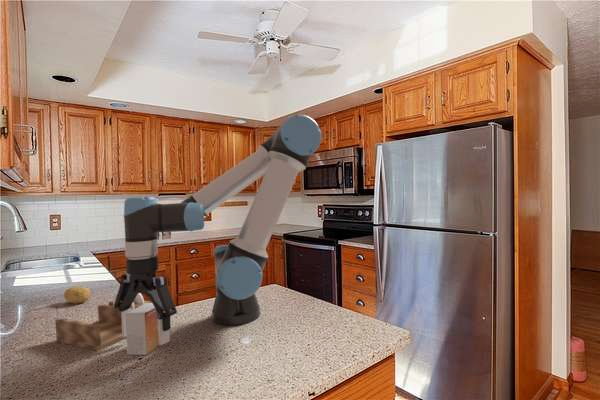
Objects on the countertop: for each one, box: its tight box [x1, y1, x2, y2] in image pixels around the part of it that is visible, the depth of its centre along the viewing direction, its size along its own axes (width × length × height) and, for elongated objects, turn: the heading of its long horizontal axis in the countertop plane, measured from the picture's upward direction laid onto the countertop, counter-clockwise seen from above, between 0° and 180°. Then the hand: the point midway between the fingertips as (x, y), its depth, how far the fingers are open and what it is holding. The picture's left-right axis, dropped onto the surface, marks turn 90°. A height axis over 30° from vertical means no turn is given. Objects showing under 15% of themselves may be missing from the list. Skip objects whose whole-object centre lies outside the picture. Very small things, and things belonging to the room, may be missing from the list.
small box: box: [125, 303, 161, 356], centre depth 84 cm, size 8×6×10 cm
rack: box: [55, 293, 152, 352], centre depth 96 cm, size 18×20×10 cm
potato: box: [63, 286, 91, 304], centre depth 127 cm, size 7×11×6 cm, turn 64°
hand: (145, 338), depth 84 cm, fingers open, 13 cm apart
